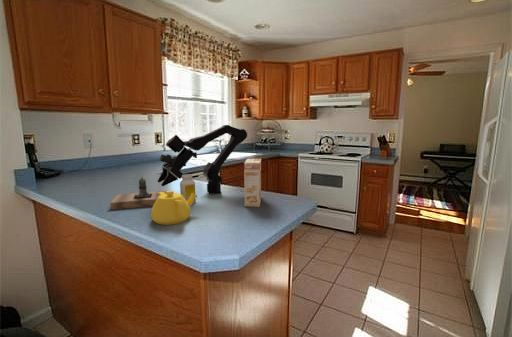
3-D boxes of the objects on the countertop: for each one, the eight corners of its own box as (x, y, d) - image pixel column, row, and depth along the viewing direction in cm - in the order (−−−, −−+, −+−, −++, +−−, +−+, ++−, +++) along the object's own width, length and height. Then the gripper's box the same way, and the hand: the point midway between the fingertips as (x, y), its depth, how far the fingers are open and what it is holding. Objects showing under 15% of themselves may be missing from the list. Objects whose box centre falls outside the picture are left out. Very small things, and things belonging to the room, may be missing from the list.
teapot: (211, 218, 101) (210, 190, 99) (165, 232, 88) (163, 200, 86) (184, 206, 115) (183, 182, 113) (142, 217, 102) (140, 189, 101)
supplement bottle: (198, 201, 123) (197, 174, 121) (189, 205, 117) (188, 177, 115) (187, 199, 126) (186, 173, 124) (177, 203, 120) (176, 175, 118)
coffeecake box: (260, 206, 115) (260, 162, 111) (243, 206, 115) (243, 162, 112) (261, 197, 129) (261, 158, 126) (247, 197, 130) (246, 158, 127)
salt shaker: (136, 201, 123) (134, 176, 121) (149, 199, 126) (148, 175, 124) (137, 205, 118) (135, 178, 116) (151, 203, 120) (149, 177, 118)
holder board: (170, 196, 132) (170, 190, 131) (170, 204, 118) (169, 198, 118) (118, 200, 125) (117, 194, 124) (111, 209, 111) (110, 202, 111)
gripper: (165, 146, 132) (143, 170, 128) (173, 149, 116) (149, 176, 112) (181, 160, 137) (161, 183, 133) (192, 165, 121) (169, 191, 118)
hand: (160, 183), depth 124 cm, fingers open, 9 cm apart
